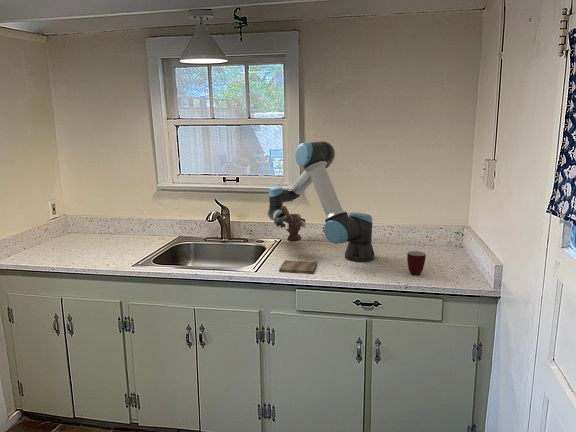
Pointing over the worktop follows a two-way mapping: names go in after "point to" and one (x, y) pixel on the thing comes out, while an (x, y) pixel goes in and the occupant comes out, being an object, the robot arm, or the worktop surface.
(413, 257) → the mug
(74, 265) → the worktop surface
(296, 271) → the walnut cutting board
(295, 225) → the mortar and pestle
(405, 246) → the worktop surface
